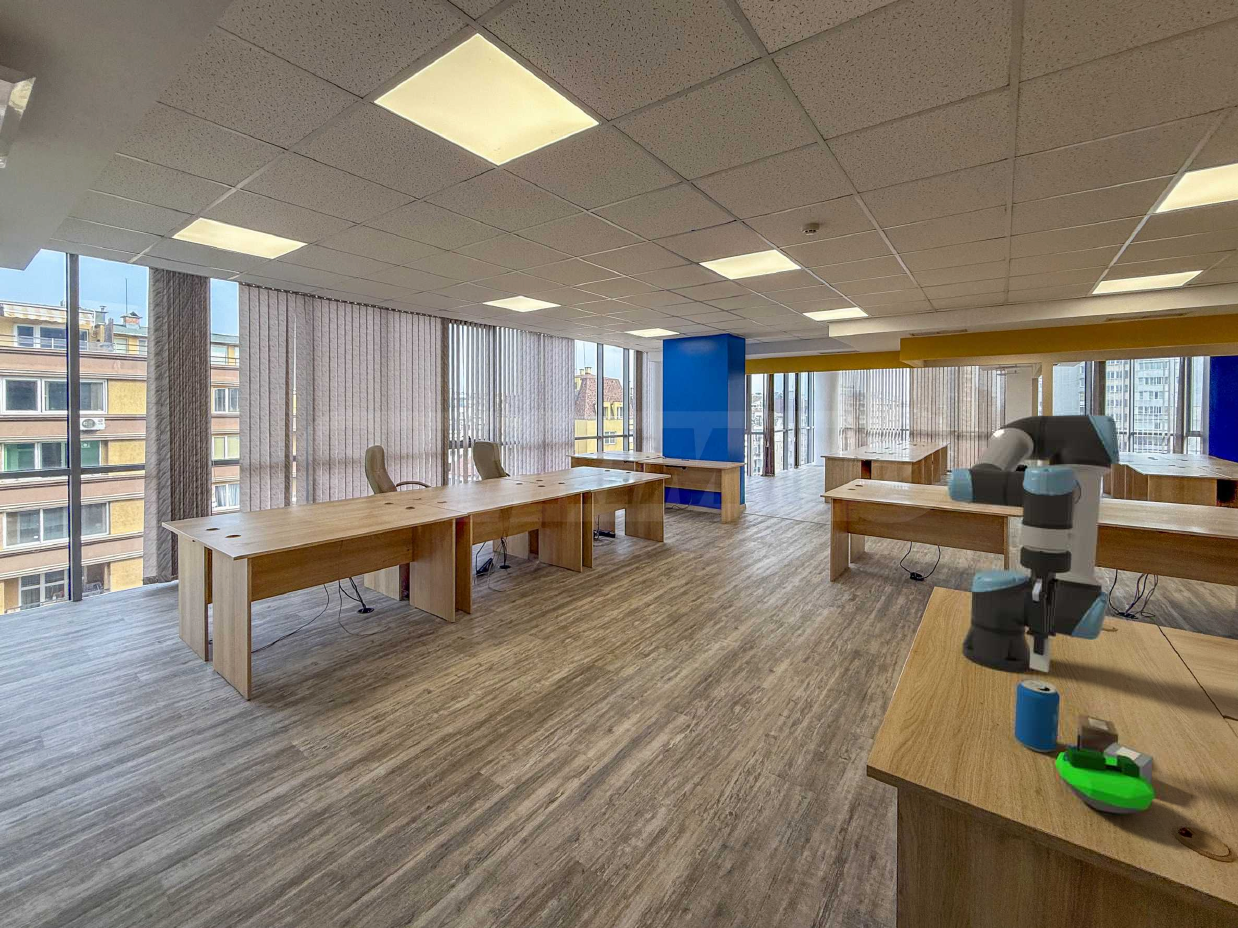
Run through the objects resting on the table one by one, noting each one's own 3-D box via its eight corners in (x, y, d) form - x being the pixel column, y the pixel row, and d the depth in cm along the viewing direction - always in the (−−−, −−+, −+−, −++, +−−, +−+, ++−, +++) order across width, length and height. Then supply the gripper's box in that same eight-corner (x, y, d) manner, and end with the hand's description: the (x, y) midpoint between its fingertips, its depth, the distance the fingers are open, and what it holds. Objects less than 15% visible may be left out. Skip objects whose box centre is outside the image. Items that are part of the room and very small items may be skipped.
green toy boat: (1073, 820, 84) (1077, 755, 83) (1044, 773, 95) (1047, 714, 94) (1172, 840, 80) (1177, 771, 79) (1130, 788, 91) (1134, 727, 89)
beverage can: (1046, 758, 99) (1049, 696, 98) (1007, 740, 105) (1010, 681, 104) (1063, 748, 102) (1066, 688, 101) (1025, 731, 108) (1028, 674, 107)
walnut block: (1080, 751, 101) (1082, 725, 101) (1077, 738, 105) (1078, 713, 105) (1116, 760, 98) (1118, 734, 98) (1111, 746, 102) (1113, 721, 102)
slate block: (1102, 777, 94) (1103, 750, 93) (1113, 768, 96) (1114, 741, 96) (1140, 794, 89) (1142, 765, 89) (1150, 784, 92) (1152, 756, 91)
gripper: (1063, 557, 93) (1056, 687, 95) (1078, 545, 101) (1071, 664, 103) (1011, 550, 99) (1005, 672, 101) (1029, 539, 107) (1024, 652, 109)
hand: (1039, 668), depth 102 cm, fingers closed
